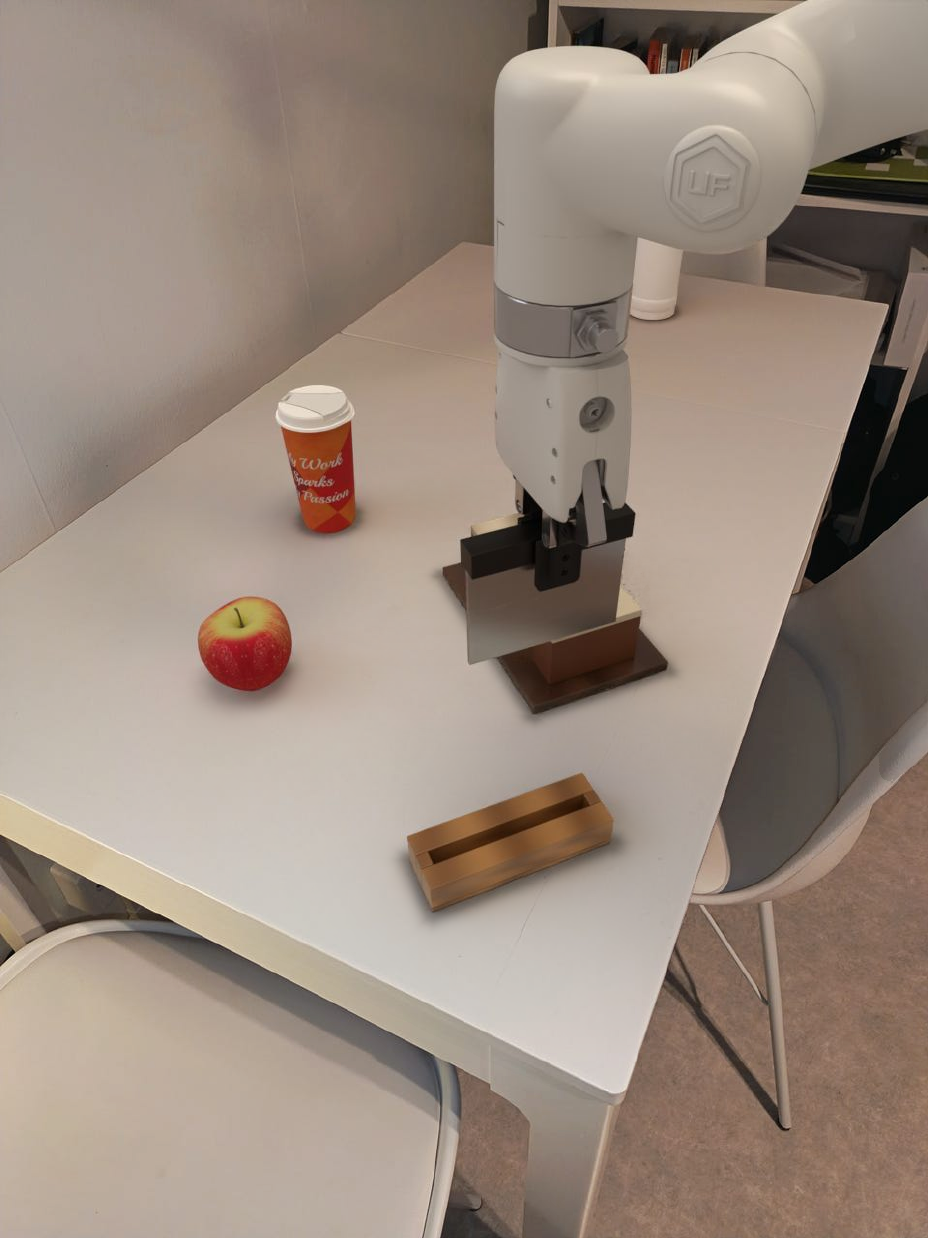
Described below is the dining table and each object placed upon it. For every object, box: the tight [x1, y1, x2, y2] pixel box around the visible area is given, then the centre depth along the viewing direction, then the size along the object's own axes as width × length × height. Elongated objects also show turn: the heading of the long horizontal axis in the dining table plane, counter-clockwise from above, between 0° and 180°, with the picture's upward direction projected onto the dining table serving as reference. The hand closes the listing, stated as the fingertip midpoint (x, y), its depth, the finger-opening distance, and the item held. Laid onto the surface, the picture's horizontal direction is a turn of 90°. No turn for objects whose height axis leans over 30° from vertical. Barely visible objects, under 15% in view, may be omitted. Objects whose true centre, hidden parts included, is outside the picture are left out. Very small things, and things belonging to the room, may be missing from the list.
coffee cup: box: [275, 384, 356, 534], centre depth 98 cm, size 8×8×15 cm
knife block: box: [406, 772, 615, 912], centre depth 68 cm, size 15×5×3 cm, turn 113°
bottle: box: [630, 237, 684, 321], centre depth 135 cm, size 8×8×30 cm
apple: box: [197, 596, 293, 692], centre depth 80 cm, size 8×8×10 cm
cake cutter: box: [459, 501, 637, 666], centre depth 62 cm, size 12×2×10 cm, turn 112°
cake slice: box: [533, 586, 643, 685], centre depth 81 cm, size 9×4×6 cm, turn 113°
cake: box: [441, 512, 669, 714], centre depth 87 cm, size 14×22×7 cm, turn 23°
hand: (547, 571), depth 61 cm, fingers closed on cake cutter, 2 cm apart
